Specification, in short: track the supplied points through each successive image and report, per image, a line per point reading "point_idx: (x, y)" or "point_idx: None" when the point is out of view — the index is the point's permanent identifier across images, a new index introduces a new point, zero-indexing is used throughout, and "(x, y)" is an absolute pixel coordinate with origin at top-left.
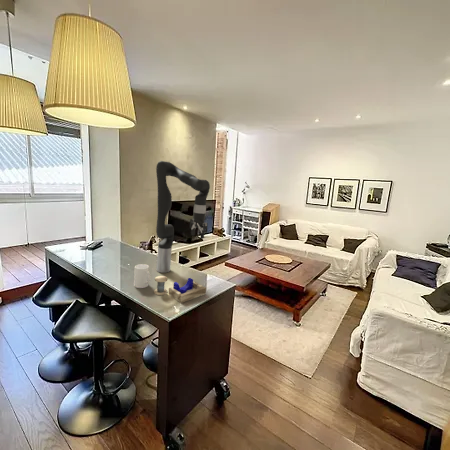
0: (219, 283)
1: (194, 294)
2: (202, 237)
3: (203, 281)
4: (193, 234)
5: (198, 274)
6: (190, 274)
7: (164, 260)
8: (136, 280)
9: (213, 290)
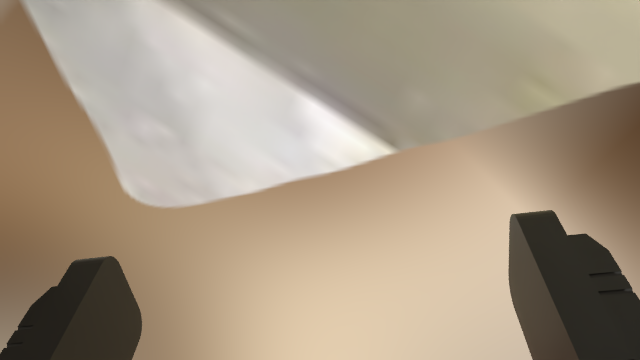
0: (200, 144)
1: None
2: (38, 308)
3: (288, 46)
4: (519, 271)
5: (446, 92)
6: (489, 22)
7: None
8: None
9: (89, 21)
